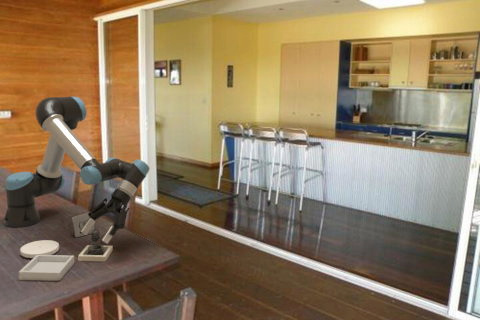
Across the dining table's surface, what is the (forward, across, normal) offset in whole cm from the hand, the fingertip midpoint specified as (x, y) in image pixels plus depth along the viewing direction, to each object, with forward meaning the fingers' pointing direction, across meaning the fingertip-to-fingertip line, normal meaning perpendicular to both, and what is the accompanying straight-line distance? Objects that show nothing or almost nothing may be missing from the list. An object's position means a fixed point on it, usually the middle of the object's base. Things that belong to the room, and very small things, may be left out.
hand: (93, 237), depth 162 cm
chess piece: (+5, 0, -6) cm, 8 cm away
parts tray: (+18, +2, +7) cm, 20 cm away
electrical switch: (-2, +24, -13) cm, 28 cm away
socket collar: (+5, 0, -6) cm, 8 cm away
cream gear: (+14, +20, +2) cm, 24 cm away
